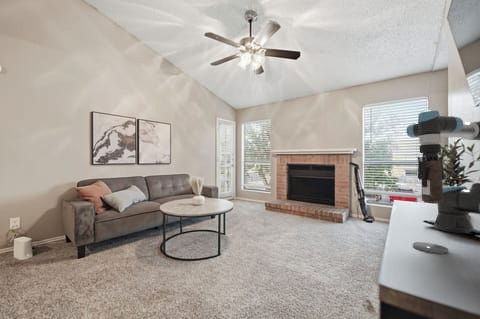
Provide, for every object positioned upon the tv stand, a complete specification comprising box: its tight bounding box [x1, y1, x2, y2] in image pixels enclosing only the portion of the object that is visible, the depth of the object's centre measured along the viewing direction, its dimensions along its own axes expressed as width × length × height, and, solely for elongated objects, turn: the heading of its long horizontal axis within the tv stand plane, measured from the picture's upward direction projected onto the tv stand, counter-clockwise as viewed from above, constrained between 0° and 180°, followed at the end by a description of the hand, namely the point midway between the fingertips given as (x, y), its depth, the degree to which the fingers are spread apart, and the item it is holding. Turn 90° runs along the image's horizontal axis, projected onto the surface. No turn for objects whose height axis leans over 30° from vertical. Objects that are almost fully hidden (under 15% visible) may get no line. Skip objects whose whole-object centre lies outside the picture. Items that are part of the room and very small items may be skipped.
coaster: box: [412, 241, 449, 255], centre depth 89 cm, size 11×11×1 cm
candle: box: [421, 159, 444, 204], centre depth 101 cm, size 8×7×20 cm
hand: (432, 193), depth 100 cm, fingers closed on candle, 7 cm apart
